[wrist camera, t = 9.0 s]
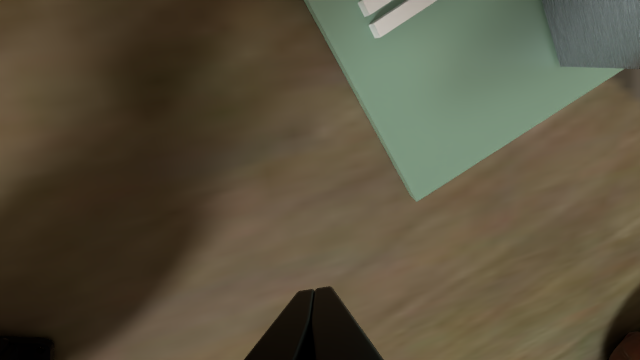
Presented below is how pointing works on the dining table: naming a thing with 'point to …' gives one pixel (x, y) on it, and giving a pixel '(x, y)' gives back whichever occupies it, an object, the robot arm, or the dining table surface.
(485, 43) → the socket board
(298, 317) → the robot arm
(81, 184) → the dining table surface
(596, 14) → the orange-rimmed grey tower
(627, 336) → the butternut squash
